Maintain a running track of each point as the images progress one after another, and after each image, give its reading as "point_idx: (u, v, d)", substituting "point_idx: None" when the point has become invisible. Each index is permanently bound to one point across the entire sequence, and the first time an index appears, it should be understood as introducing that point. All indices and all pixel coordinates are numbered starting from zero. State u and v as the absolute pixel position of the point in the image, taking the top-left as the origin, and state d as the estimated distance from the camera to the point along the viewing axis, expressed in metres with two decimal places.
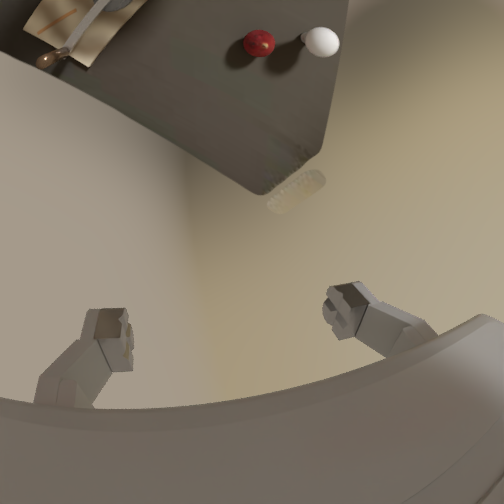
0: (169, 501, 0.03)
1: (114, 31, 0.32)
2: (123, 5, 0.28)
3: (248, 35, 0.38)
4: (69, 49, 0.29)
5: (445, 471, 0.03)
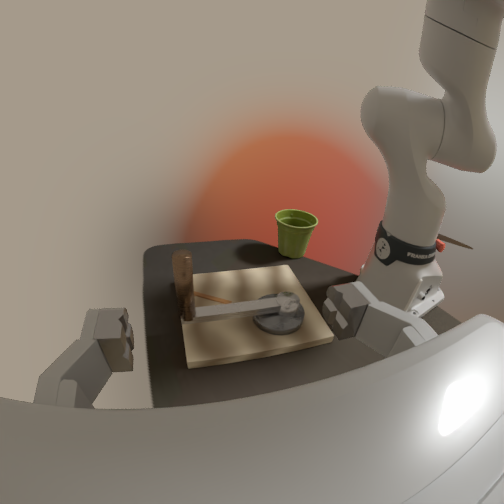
0: (169, 501, 0.03)
1: (248, 352, 0.37)
2: (280, 327, 0.39)
3: None
4: (195, 315, 0.37)
5: (445, 471, 0.03)
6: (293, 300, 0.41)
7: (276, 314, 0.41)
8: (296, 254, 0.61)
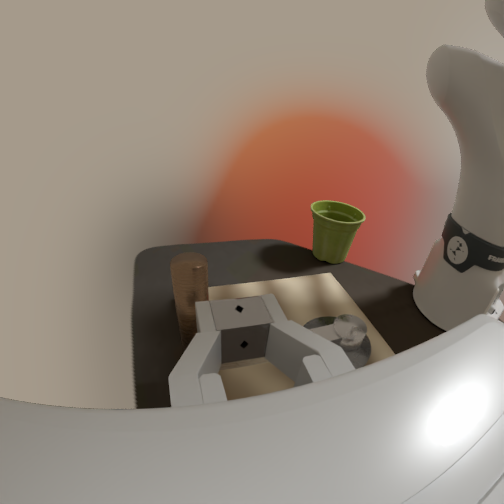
0: (169, 502, 0.03)
1: None
2: None
3: None
4: None
5: (445, 471, 0.03)
6: (358, 328, 0.26)
7: None
8: (337, 258, 0.45)
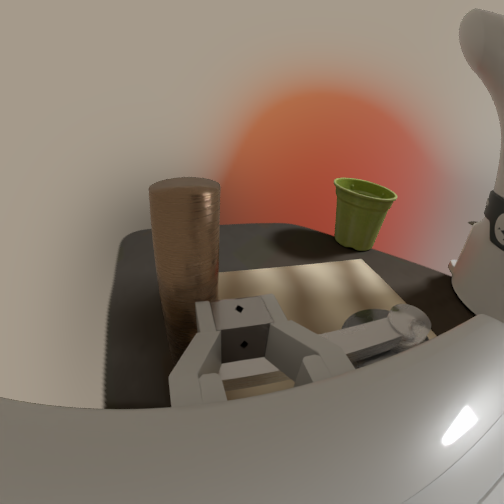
0: (169, 502, 0.03)
1: None
2: None
3: None
4: None
5: (445, 471, 0.03)
6: (420, 321, 0.17)
7: (389, 352, 0.17)
8: (365, 244, 0.37)
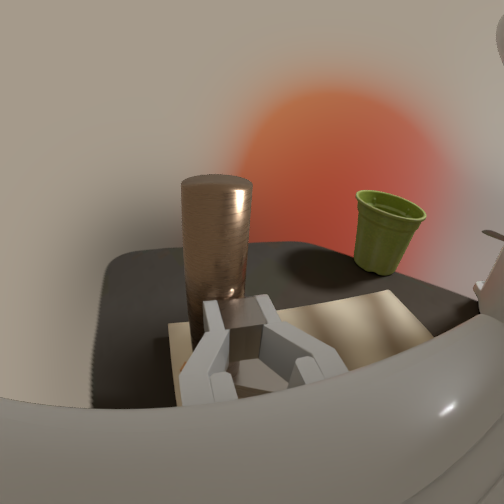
0: (169, 501, 0.03)
1: None
2: None
3: None
4: (233, 379, 0.13)
5: (445, 471, 0.03)
6: None
7: None
8: (389, 268, 0.31)
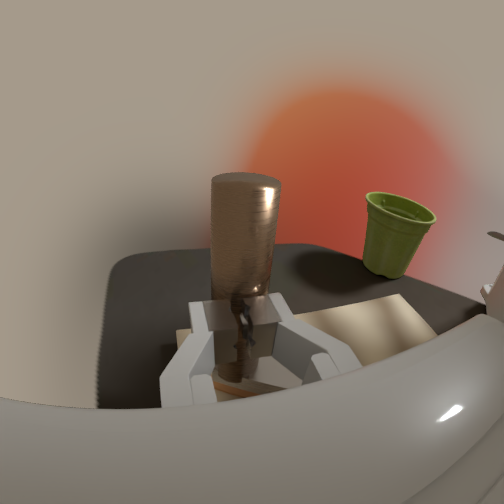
0: (169, 502, 0.03)
1: None
2: None
3: None
4: (252, 375, 0.13)
5: (445, 471, 0.03)
6: None
7: None
8: (398, 272, 0.30)
